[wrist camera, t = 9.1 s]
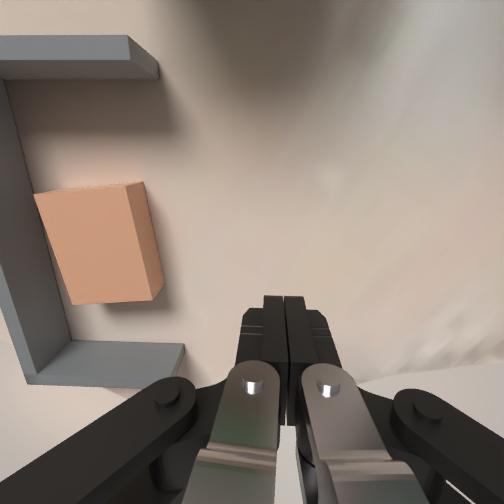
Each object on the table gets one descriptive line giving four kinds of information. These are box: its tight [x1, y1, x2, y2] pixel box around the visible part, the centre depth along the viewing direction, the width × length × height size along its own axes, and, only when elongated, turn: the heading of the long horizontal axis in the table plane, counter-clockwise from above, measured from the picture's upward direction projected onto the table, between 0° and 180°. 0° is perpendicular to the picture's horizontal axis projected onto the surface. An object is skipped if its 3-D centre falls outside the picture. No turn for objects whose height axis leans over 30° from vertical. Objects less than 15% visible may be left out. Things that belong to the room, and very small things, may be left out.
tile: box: [33, 182, 165, 305], centre depth 20 cm, size 6×8×3 cm
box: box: [0, 35, 184, 389], centre depth 19 cm, size 11×22×4 cm, turn 179°
